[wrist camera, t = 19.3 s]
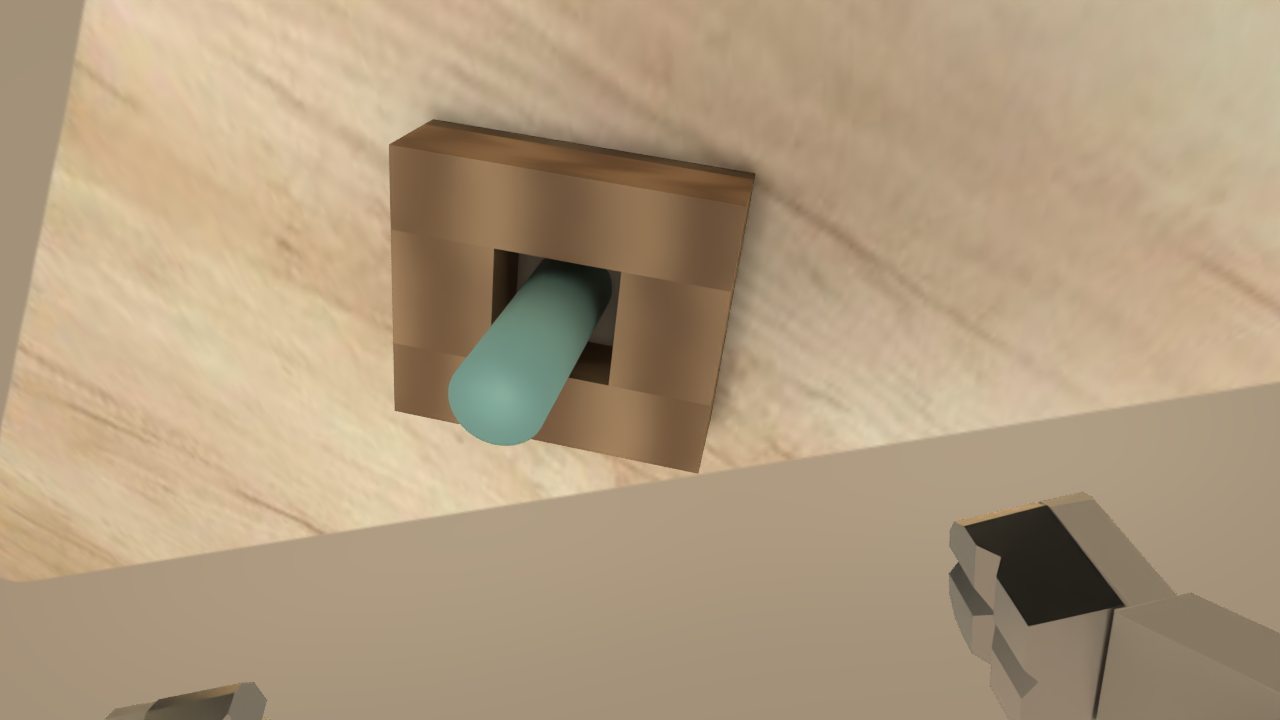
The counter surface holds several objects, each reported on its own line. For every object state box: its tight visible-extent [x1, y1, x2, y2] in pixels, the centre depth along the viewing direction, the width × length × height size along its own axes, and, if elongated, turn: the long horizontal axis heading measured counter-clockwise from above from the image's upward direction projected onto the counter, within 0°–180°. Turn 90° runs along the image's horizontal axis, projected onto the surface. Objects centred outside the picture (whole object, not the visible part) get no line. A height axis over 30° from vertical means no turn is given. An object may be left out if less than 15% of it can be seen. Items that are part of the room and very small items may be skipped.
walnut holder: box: [389, 120, 755, 473], centre depth 44 cm, size 16×14×5 cm
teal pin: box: [448, 258, 612, 446], centre depth 40 cm, size 4×4×12 cm
